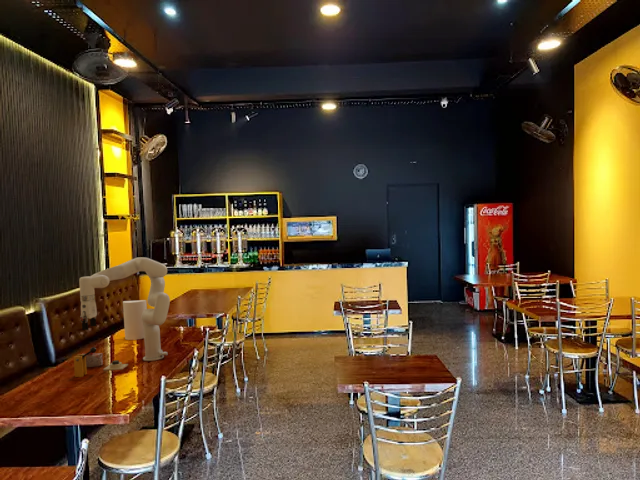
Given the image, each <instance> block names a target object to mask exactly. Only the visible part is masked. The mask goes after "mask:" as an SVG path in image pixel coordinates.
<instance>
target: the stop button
mask: <svg viewBox="0 0 640 480" xmlns="http://www.w3.org/2000/svg"><path fill="white" fill-rule="evenodd" d="M119 362H120V360H118V359H117V360H112V362H111V363H112V364H113V365H115V364H119Z"/></svg>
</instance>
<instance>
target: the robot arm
mask: <svg viewBox="0 0 640 480" xmlns="http://www.w3.org/2000/svg"><path fill="white" fill-rule="evenodd" d="M139 272H144V273H145V274H146V275H147V276H148V278H149V281H150V287H149V292H148V296H147V304H148V306H150V307H153V308H147V309H146V310H145V311H144V312H143V313H142V323H143V328H144V338H143V340H144V341H143V342H144V354H145V355H144V356H143V357H142V361H145V362H154V361H160V360H163V359H164V358H165V357H166V356H168V355H169V353H168V351H163V349H162V345H161V344H162V343H161V329H160V326H162V325H163V324H164V323H165V322H166V320H167V317H168V314H169V308H170V303H171V298H170V296H169V295H168V293H165V287H166V281H165V278H164V277H166V275H167V274H168V268H167V266H166V265H165V264H164V263H161V262H159V261H157V260H154V259H152V258H149V257H146V256H145V257H144V256H143V257H141V256H140V257H139V256H138V257H134V258H132V259H130V260H127V261H125V262H122V263H121V264H118V265H115V266H111V267H109V268H106V269H103V270H101V271H98V272H95V273H93V274H92V275H90V276H89V275H88V276H86V275H85V276H81V277H79V280H78V281H79V298H80V316H79V318H80V323H81V328H82V329H81V330H82V331H88V330H89V325H90V327H97V316H98V310H97V302H96V295H95V294H96V293H95V292H96V291H95V289H104V288H107V287H108V286H109V284H110V281H114V280H115V281H116V280H122V279H126V278H128V277H130V276H133V275H134V274H137V273H139ZM88 321H90V322H88Z"/></svg>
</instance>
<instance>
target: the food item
mask: <svg viewBox="0 0 640 480" xmlns="http://www.w3.org/2000/svg"><path fill="white" fill-rule="evenodd" d="M103 356H104V352H100V353H98V352H97V353H96V352H95V353H90V354H88V355H86V368H97V367H98V368H99V367H101V366H104V364H103Z"/></svg>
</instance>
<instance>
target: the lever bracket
mask: <svg viewBox="0 0 640 480" xmlns="http://www.w3.org/2000/svg"><path fill="white" fill-rule="evenodd" d="M85 354H86V353H81V354H76V355H75V356H73V369H74V378H83V377H84V376H86V375H87V374H88V373H87V371H88V370H87V367H86V356H85V357H83V358H84V359H83V360H82V356H83V355H85ZM81 355H82V356H81Z"/></svg>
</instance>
